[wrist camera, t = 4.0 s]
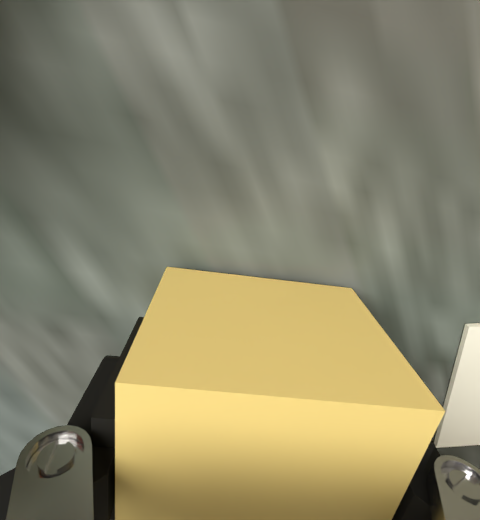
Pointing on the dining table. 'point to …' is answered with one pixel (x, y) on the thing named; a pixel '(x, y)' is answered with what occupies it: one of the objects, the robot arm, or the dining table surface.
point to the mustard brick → (265, 405)
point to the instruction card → (463, 395)
